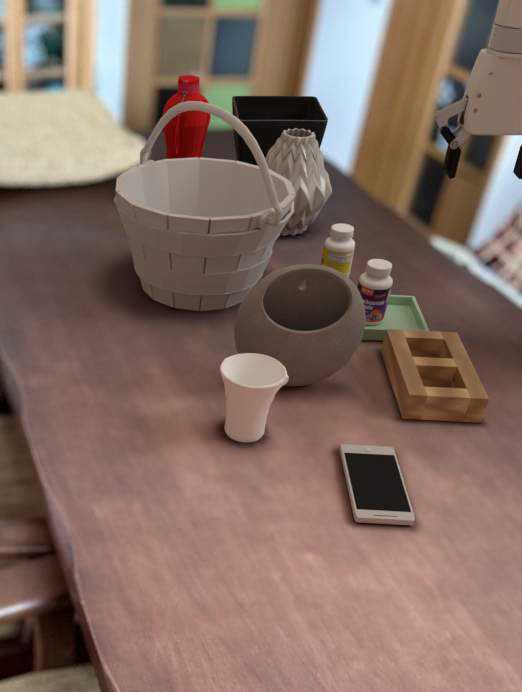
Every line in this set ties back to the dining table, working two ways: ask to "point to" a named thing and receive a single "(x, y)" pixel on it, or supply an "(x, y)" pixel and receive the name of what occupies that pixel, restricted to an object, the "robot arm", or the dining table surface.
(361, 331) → the planter
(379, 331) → the tray
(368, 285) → the pill bottle
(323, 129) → the flower pot
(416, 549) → the dining table surface
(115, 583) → the dining table surface
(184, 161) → the basket
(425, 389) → the frame
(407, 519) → the smartphone
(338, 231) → the supplement bottle
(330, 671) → the dining table surface
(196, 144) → the water bottle
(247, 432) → the cup
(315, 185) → the vase
